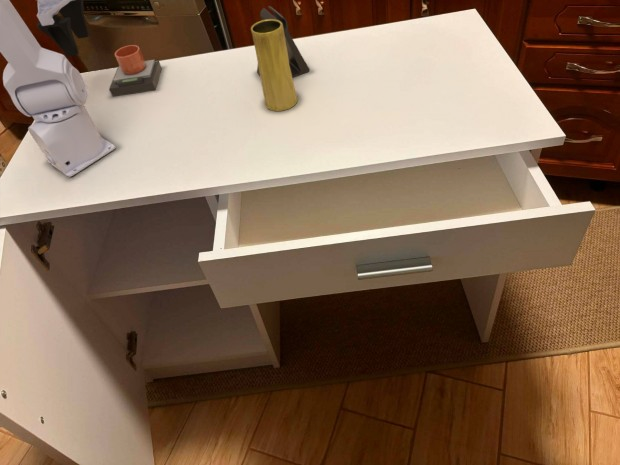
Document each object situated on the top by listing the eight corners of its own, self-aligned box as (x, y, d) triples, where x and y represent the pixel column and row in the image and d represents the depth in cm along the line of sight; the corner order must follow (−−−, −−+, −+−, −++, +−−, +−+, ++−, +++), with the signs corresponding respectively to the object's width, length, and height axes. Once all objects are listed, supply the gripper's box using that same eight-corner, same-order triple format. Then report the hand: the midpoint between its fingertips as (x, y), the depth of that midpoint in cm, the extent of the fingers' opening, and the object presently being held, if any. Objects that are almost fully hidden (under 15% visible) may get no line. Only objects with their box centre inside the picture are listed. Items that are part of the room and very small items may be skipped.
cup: (131, 78, 97) (123, 59, 94) (118, 71, 99) (109, 53, 96) (151, 66, 99) (144, 48, 96) (137, 61, 101) (130, 42, 99)
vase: (293, 111, 85) (279, 34, 75) (261, 111, 87) (243, 35, 76) (300, 92, 89) (288, 16, 79) (269, 93, 91) (253, 18, 80)
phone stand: (268, 86, 92) (255, 25, 84) (257, 73, 96) (243, 13, 87) (309, 71, 94) (301, 10, 85) (297, 59, 98) (288, -1, 89)
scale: (112, 96, 97) (107, 85, 95) (121, 74, 103) (116, 63, 102) (155, 90, 97) (151, 78, 95) (161, 68, 103) (157, 56, 101)
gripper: (50, -17, 78) (89, 60, 88) (74, -46, 88) (106, 26, 98) (9, -10, 79) (52, 66, 89) (37, -40, 89) (73, 31, 98)
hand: (78, 45), depth 93 cm, fingers open, 7 cm apart
